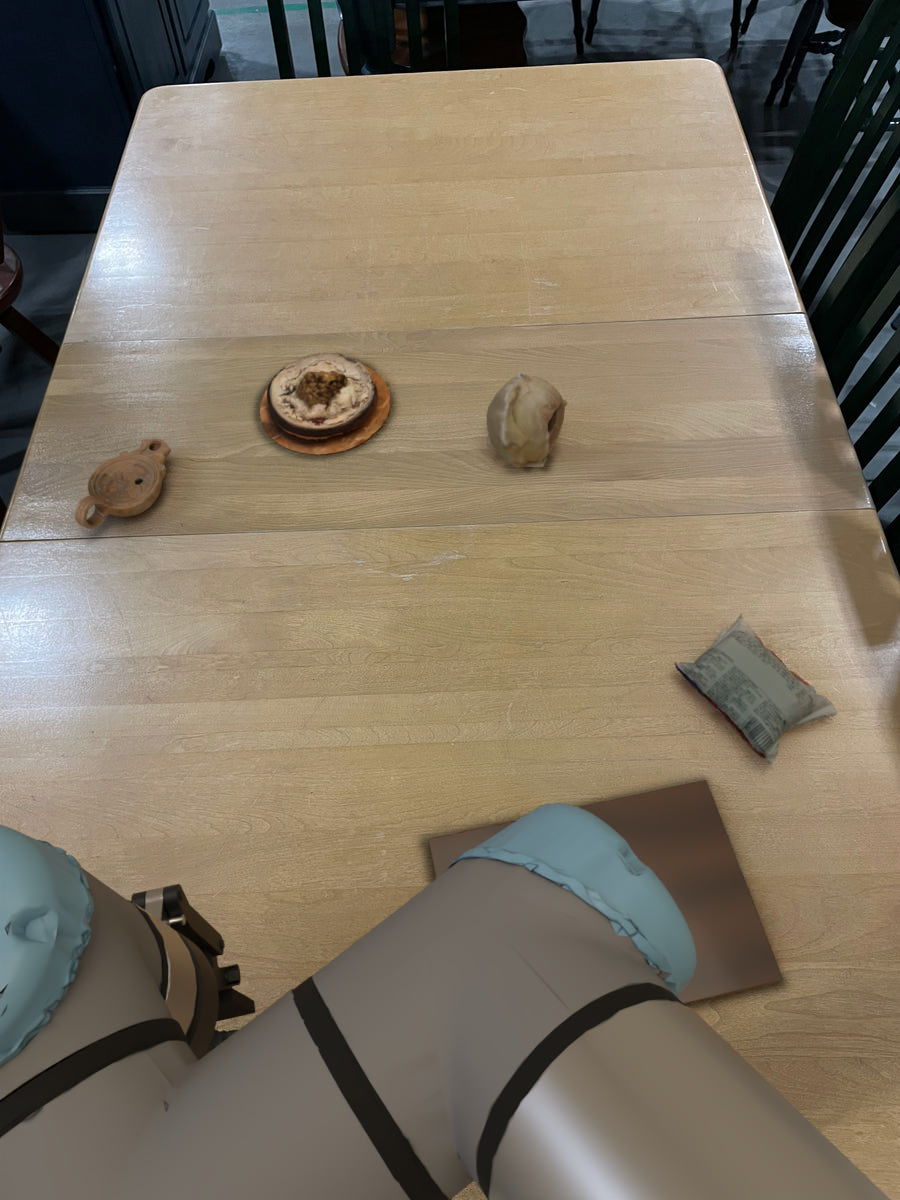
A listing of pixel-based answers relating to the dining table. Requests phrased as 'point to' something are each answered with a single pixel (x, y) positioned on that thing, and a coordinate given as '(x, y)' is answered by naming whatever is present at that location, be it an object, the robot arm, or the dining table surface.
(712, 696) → the packaged food
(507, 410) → the beige rounded shell
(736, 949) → the cutting board
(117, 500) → the oil lamp
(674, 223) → the dining table surface
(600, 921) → the robot arm
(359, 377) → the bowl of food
